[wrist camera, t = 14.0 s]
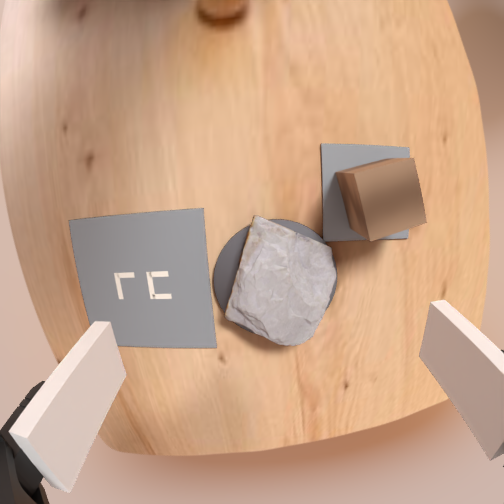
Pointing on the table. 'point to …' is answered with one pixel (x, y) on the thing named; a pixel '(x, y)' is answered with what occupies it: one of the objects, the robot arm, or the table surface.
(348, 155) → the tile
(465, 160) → the table surface
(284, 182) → the table surface
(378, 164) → the walnut block
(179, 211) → the tile
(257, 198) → the table surface
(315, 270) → the stone
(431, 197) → the table surface
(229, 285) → the coaster
